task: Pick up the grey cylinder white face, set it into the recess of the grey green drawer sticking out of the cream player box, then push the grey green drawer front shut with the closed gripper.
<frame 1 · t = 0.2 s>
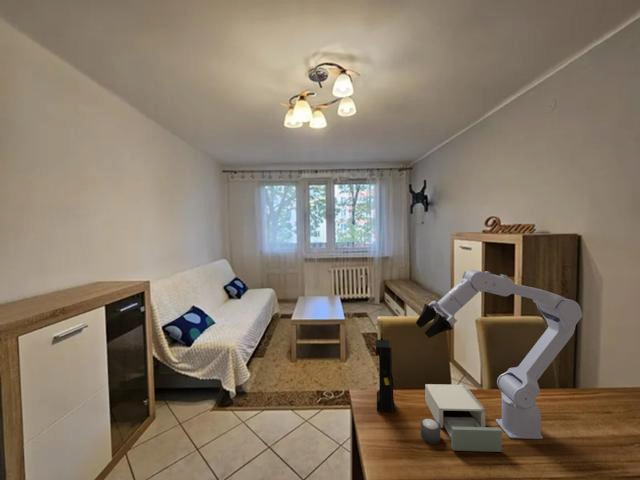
hand: (422, 330, 87), 31 cm above the table, fingers open, 7 cm apart
grey green drawer: (466, 424, 85), point 3 cm above the table, slide at 8.0 cm
portable radio: (385, 407, 99), on the table
grey cylinder white face: (430, 437, 85), on the table
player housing: (453, 413, 95), on the table
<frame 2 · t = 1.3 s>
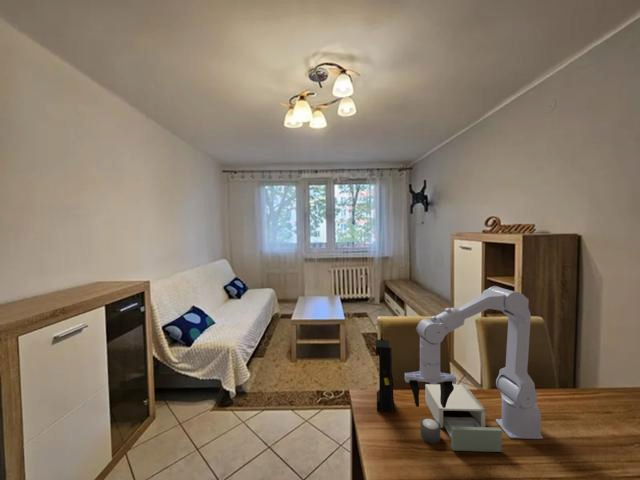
hand: (429, 405, 84), 10 cm above the table, fingers open, 7 cm apart
nothing on the table moved.
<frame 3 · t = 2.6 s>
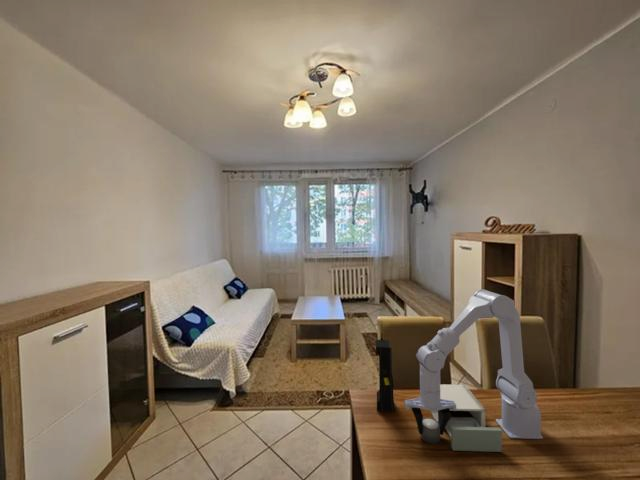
hand: (430, 432, 84), 1 cm above the table, fingers closed on grey cylinder white face, 5 cm apart
grey cylinder white face: (430, 436, 85), on the table, touching gripper
everything else where it was.
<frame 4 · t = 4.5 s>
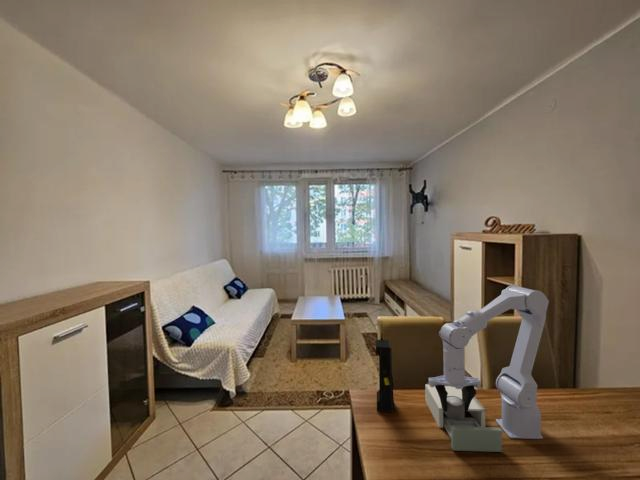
hand: (454, 409, 84), 8 cm above the table, fingers closed on grey cylinder white face, 5 cm apart
grey cylinder white face: (454, 414, 84), point 7 cm above the table, touching gripper
everything else where it was.
when the fingers open (4 cm above the table, at t = 6.6 s): grey cylinder white face drops 1 cm, resting on grey green drawer.
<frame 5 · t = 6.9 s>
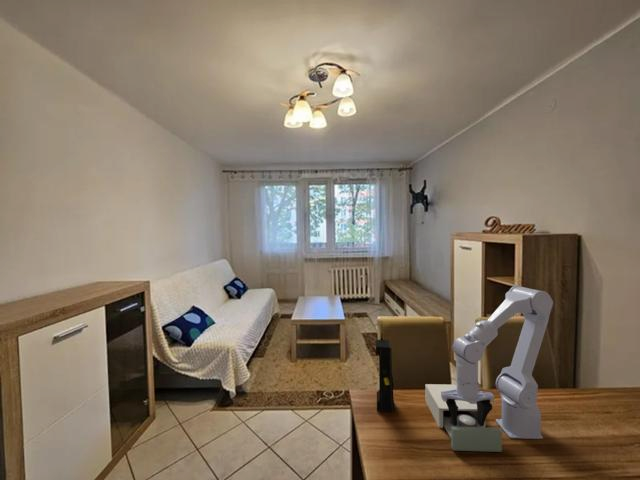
hand: (467, 423, 84), 4 cm above the table, fingers open, 7 cm apart
grey green drawer: (466, 424, 85), point 3 cm above the table, slide at 8.0 cm, touching grey cylinder white face
grey cylinder white face: (467, 433, 84), point 1 cm above the table, touching grey green drawer
everything else where it was.
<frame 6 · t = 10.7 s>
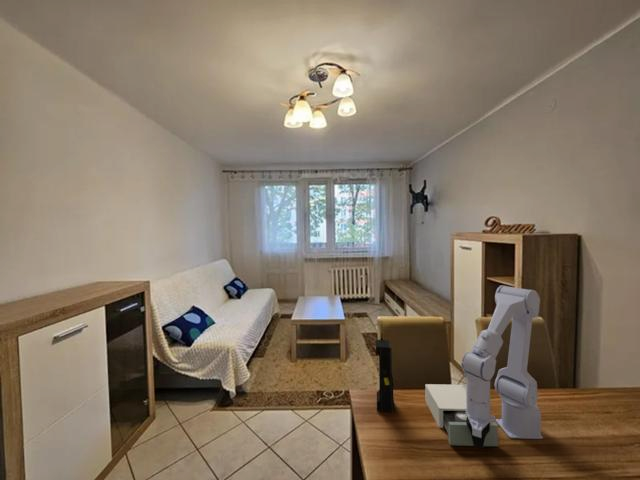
hand: (478, 445, 78), 2 cm above the table, fingers closed
grey green drawer: (463, 419, 87), point 3 cm above the table, slide at 6.0 cm, touching grey cylinder white face, gripper
grey cylinder white face: (464, 428, 86), point 1 cm above the table, touching grey green drawer
everything else where it was.
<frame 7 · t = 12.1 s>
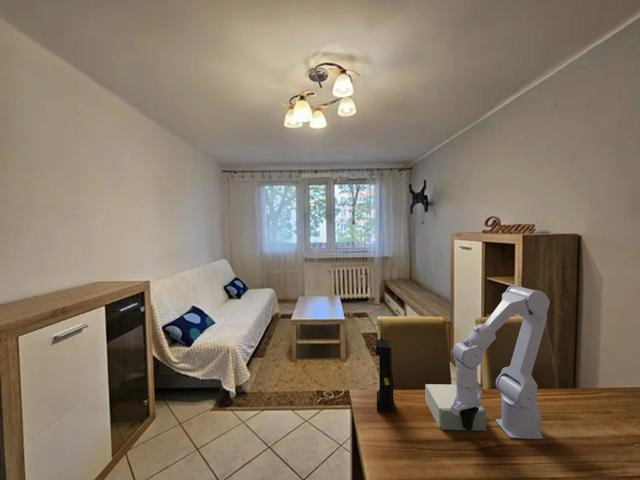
hand: (467, 428, 85), 2 cm above the table, fingers closed, pressing on grey green drawer
grey green drawer: (454, 407, 93), point 3 cm above the table, slide at -0.3 cm, touching grey cylinder white face, gripper
grey cylinder white face: (455, 415, 93), point 1 cm above the table, touching grey green drawer
everything else where it was.
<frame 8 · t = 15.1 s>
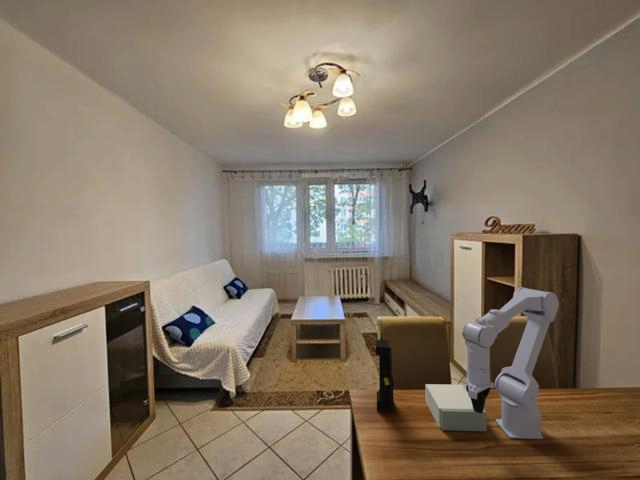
hand: (478, 411, 81), 9 cm above the table, fingers closed
grey green drawer: (455, 407, 93), point 3 cm above the table, slide at 0.0 cm, touching grey cylinder white face
everything else where it was.
at the end: grey green drawer slide at 0.0 cm; grey cylinder white face inside the target area (2.2 cm from its centre), point 1.0 cm above the table; the gripper is holding nothing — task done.
